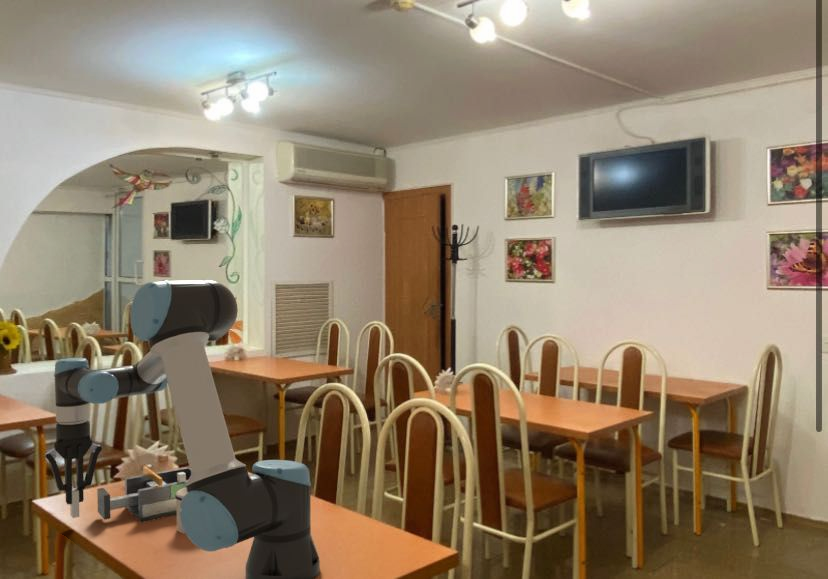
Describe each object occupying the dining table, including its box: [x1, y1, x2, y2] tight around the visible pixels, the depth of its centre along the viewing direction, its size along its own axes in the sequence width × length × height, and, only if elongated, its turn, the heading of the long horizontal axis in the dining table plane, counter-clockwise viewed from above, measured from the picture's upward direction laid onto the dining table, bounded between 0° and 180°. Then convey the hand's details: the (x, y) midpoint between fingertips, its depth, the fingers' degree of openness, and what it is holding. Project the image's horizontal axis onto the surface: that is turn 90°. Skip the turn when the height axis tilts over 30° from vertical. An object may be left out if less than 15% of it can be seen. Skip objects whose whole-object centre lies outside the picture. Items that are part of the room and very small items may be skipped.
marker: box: [177, 472, 186, 482], centre depth 180 cm, size 2×2×2 cm
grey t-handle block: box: [96, 465, 166, 521], centre depth 178 cm, size 14×16×9 cm
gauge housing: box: [124, 465, 191, 523], centre depth 183 cm, size 14×18×8 cm
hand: (75, 515), depth 170 cm, fingers closed
